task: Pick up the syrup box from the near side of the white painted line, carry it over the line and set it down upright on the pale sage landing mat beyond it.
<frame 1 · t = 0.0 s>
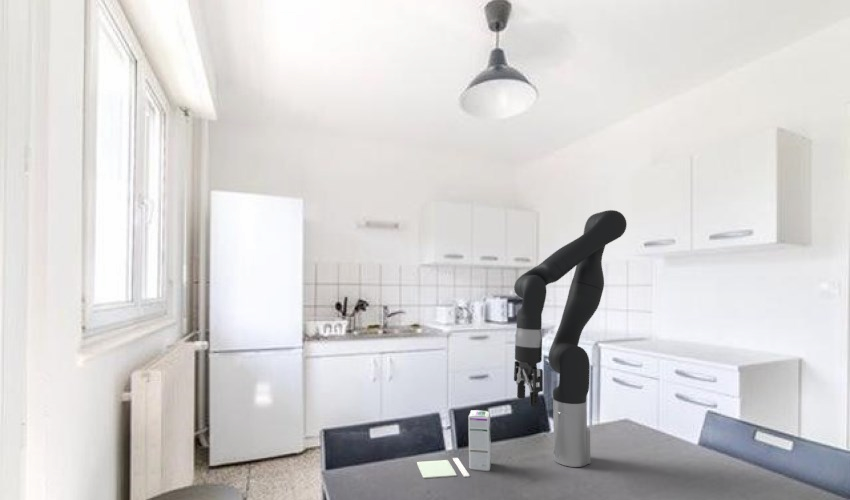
hand: (527, 402, 125), 17 cm above the table, tool pointing down, fingers open, 8 cm apart
landing mat: (436, 469, 119), on the table
white line strip: (460, 467, 121), on the table
syrup box: (479, 466, 122), on the table
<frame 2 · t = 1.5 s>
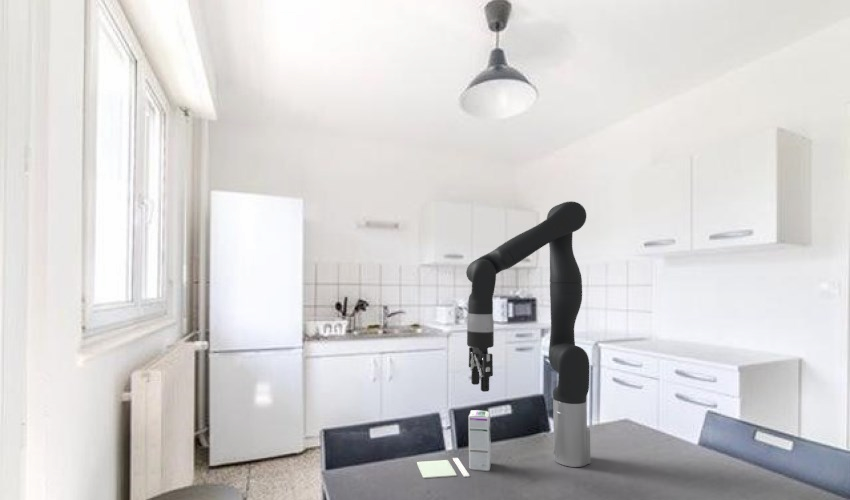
hand: (479, 387, 124), 21 cm above the table, tool pointing down, fingers open, 8 cm apart
nothing on the table moved.
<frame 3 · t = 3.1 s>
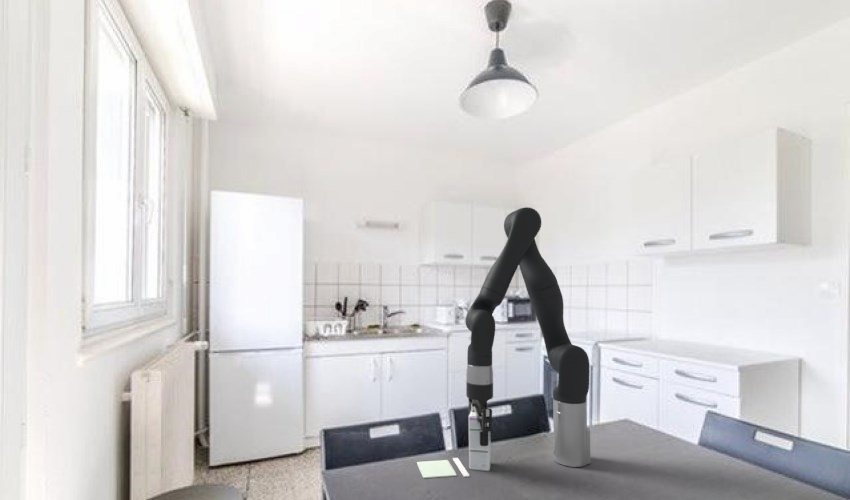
hand: (479, 440, 122), 7 cm above the table, tool pointing down, fingers closed on syrup box, 7 cm apart
syrup box: (479, 466, 122), on the table, touching gripper
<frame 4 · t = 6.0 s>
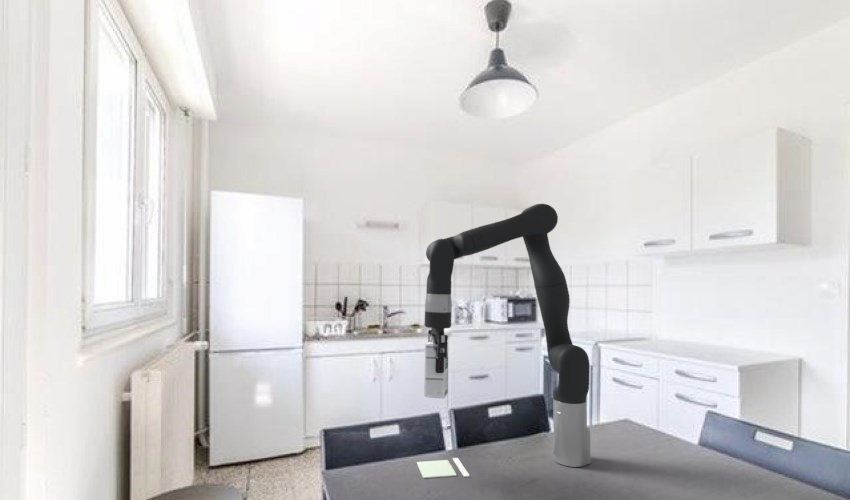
hand: (436, 370, 122), 27 cm above the table, tool pointing down, fingers closed on syrup box, 7 cm apart
syrup box: (435, 396, 121), point 20 cm above the table, touching gripper
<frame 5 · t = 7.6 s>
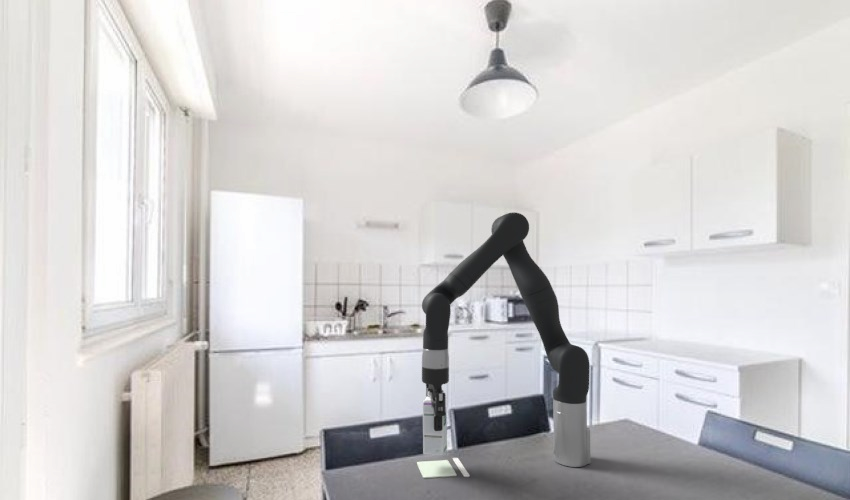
hand: (434, 425, 120), 12 cm above the table, tool pointing down, fingers closed on syrup box, 7 cm apart
syrup box: (434, 452, 120), point 4 cm above the table, touching gripper
when the fingers open (8 cm above the table, at t = 8.8 s): syrup box drops 1 cm, resting on landing mat.
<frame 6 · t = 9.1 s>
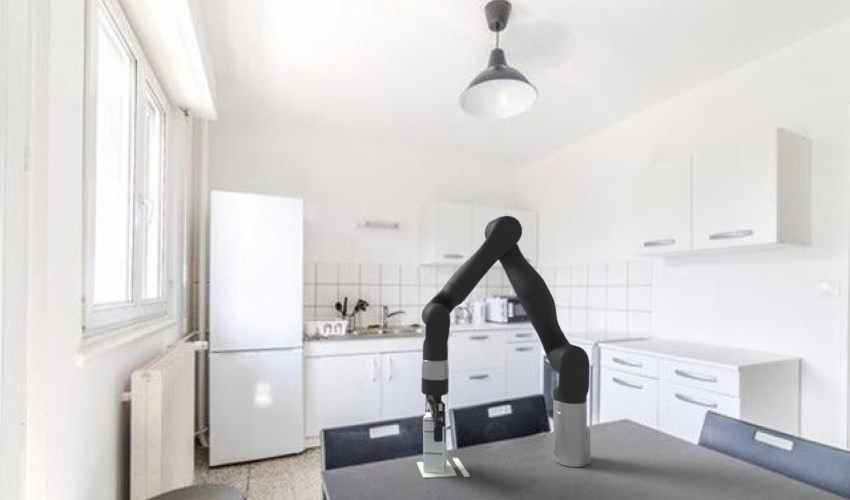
hand: (434, 435, 120), 9 cm above the table, tool pointing down, fingers open, 8 cm apart
syrup box: (434, 469, 119), resting on landing mat
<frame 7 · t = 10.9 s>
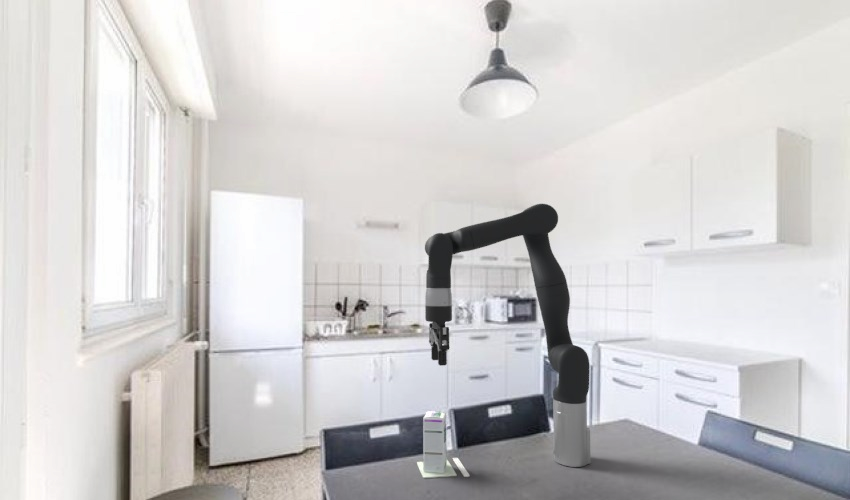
hand: (438, 362, 122), 29 cm above the table, tool pointing down, fingers open, 8 cm apart
nothing on the table moved.
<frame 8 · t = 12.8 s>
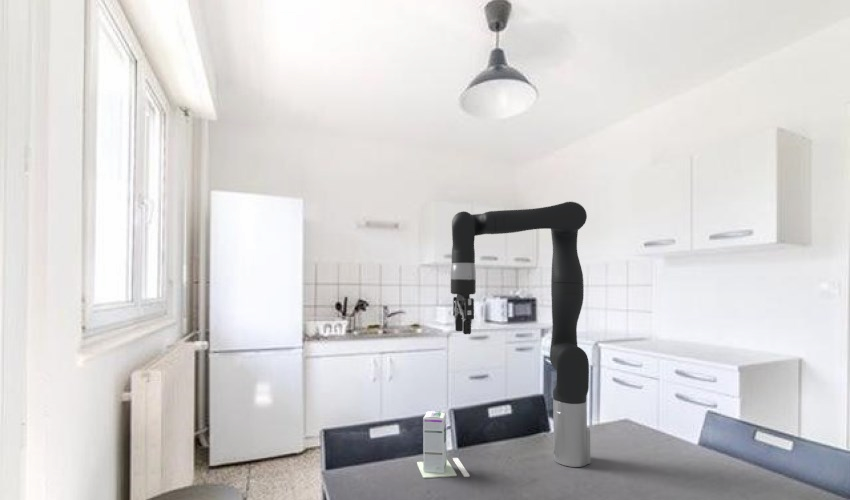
hand: (462, 332, 131), 36 cm above the table, tool pointing down, fingers open, 8 cm apart
nothing on the table moved.
at the end: syrup box inside the target area (0.5 cm from its centre), resting on landing mat; syrup box tilted 0°; the gripper is holding nothing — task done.
